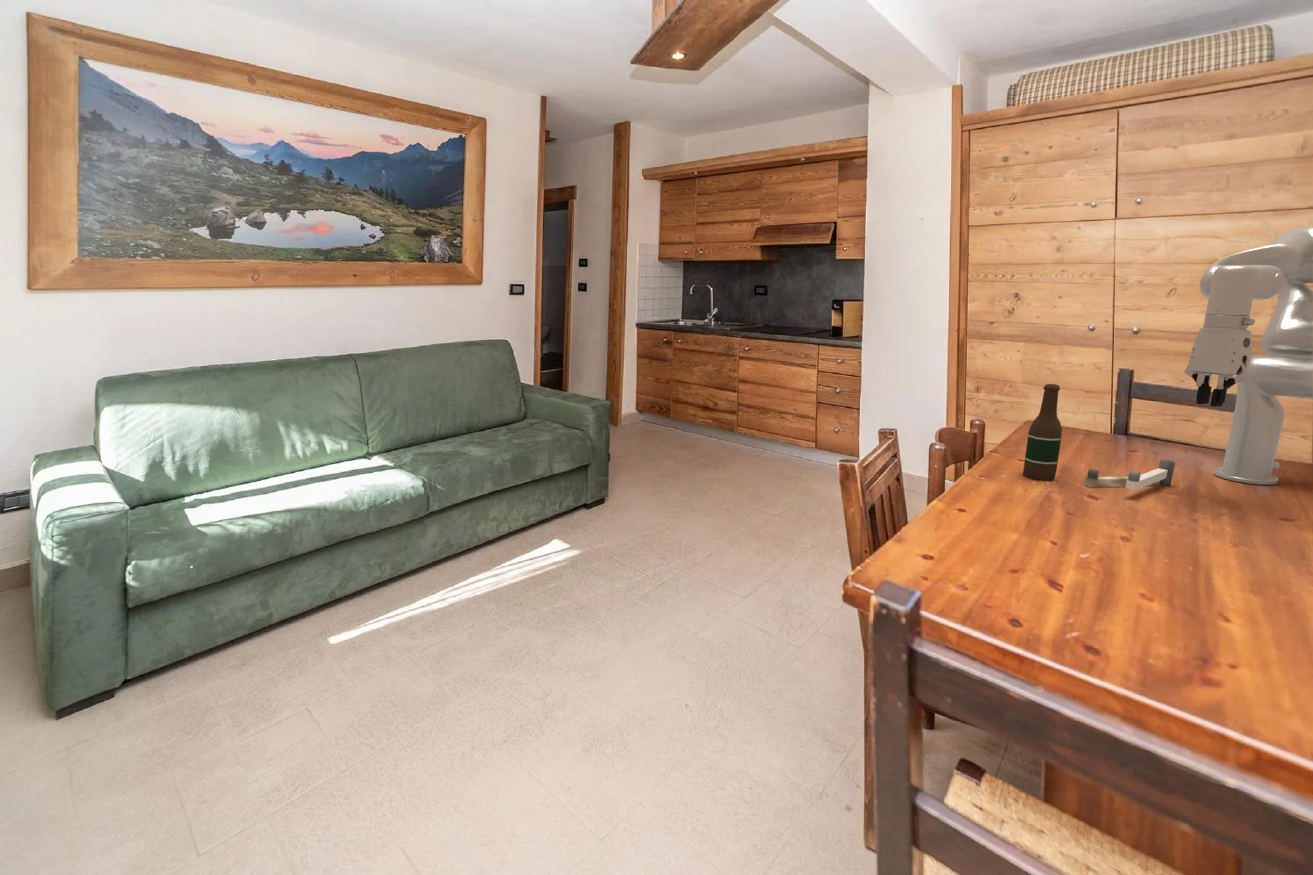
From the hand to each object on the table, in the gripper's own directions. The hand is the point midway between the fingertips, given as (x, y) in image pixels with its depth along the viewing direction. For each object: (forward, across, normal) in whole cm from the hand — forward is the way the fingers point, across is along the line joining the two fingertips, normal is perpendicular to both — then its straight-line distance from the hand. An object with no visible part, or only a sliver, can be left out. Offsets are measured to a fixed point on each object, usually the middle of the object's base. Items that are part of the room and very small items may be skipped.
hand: (1209, 404), depth 153 cm
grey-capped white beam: (+22, +11, +5) cm, 25 cm away
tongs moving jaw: (+20, +6, +7) cm, 22 cm away
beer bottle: (+22, +24, +20) cm, 38 cm away
